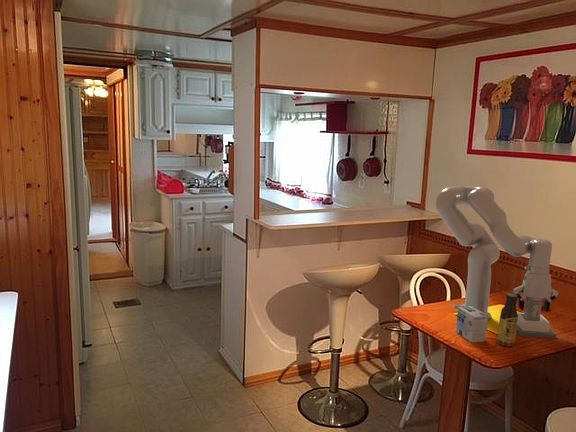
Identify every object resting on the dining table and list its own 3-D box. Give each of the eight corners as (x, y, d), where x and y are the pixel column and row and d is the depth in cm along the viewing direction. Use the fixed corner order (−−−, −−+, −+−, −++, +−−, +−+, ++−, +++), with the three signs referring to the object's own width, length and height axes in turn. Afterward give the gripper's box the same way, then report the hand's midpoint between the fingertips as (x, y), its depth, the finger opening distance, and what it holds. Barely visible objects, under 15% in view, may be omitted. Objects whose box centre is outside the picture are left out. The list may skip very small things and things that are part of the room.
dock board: (519, 335, 202) (520, 322, 201) (507, 322, 215) (509, 310, 214) (555, 338, 200) (557, 325, 199) (542, 324, 214) (543, 312, 213)
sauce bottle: (505, 348, 190) (511, 298, 186) (492, 342, 195) (498, 293, 192) (518, 346, 192) (524, 296, 189) (505, 339, 198) (511, 291, 194)
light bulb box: (455, 331, 204) (457, 306, 202) (469, 330, 206) (471, 305, 204) (471, 343, 194) (473, 316, 192) (486, 341, 196) (488, 315, 194)
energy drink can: (536, 324, 210) (540, 290, 207) (540, 330, 204) (545, 295, 201) (521, 322, 211) (525, 288, 208) (524, 328, 205) (529, 293, 202)
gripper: (519, 271, 200) (514, 311, 203) (564, 273, 199) (559, 314, 202) (513, 265, 208) (508, 305, 211) (557, 268, 206) (551, 308, 209)
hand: (533, 309), depth 206 cm, fingers open, 9 cm apart
